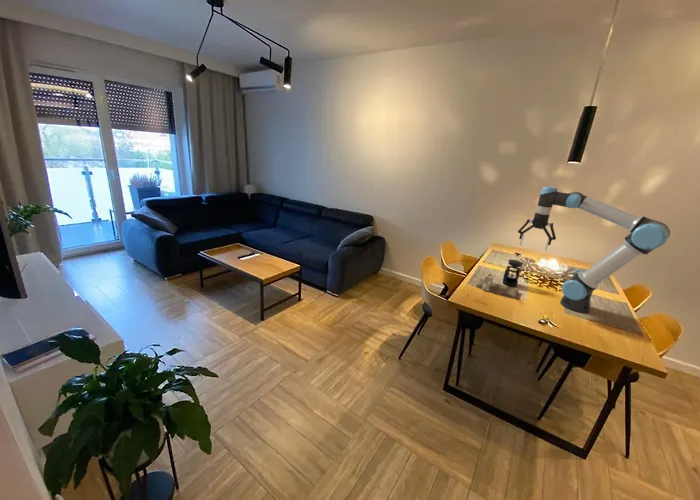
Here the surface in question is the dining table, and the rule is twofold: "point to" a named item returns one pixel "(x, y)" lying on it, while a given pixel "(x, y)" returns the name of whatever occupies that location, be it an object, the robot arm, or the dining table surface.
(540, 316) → the dining table surface
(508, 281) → the french press
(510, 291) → the board
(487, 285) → the block
